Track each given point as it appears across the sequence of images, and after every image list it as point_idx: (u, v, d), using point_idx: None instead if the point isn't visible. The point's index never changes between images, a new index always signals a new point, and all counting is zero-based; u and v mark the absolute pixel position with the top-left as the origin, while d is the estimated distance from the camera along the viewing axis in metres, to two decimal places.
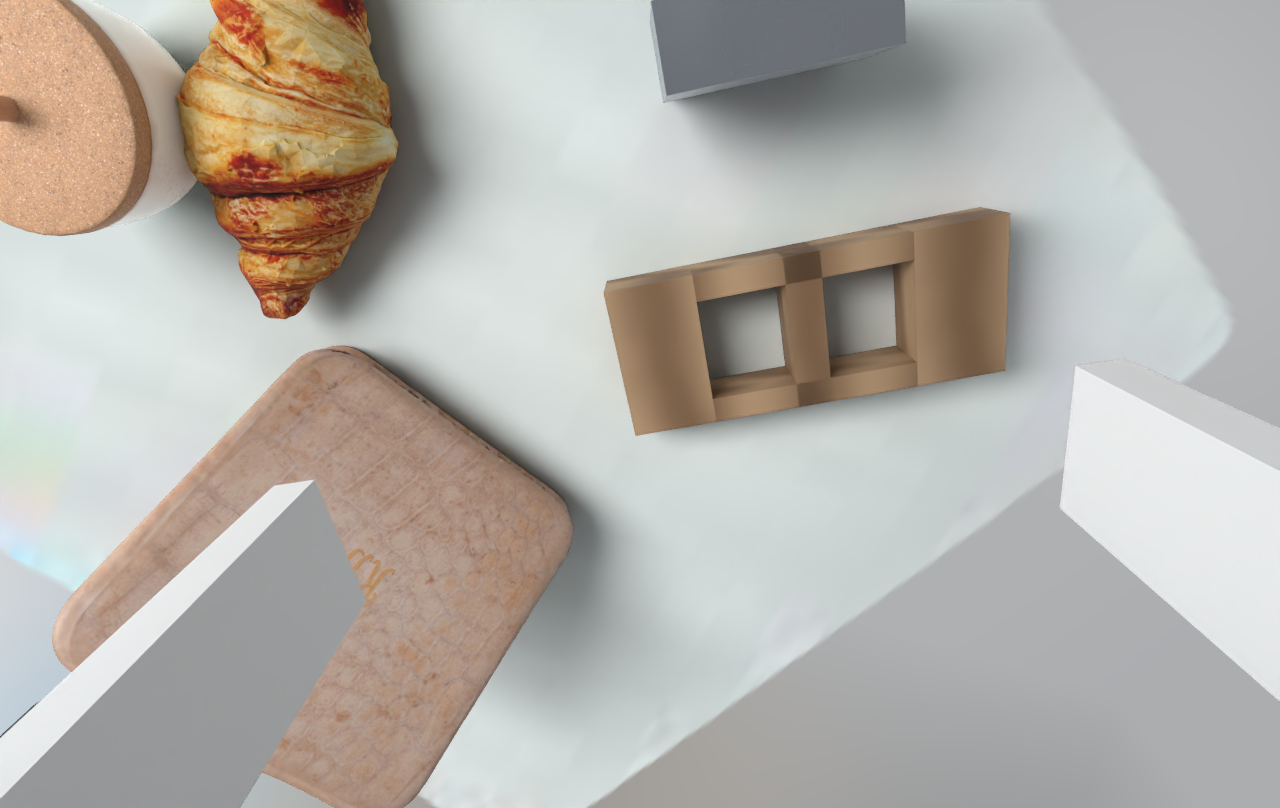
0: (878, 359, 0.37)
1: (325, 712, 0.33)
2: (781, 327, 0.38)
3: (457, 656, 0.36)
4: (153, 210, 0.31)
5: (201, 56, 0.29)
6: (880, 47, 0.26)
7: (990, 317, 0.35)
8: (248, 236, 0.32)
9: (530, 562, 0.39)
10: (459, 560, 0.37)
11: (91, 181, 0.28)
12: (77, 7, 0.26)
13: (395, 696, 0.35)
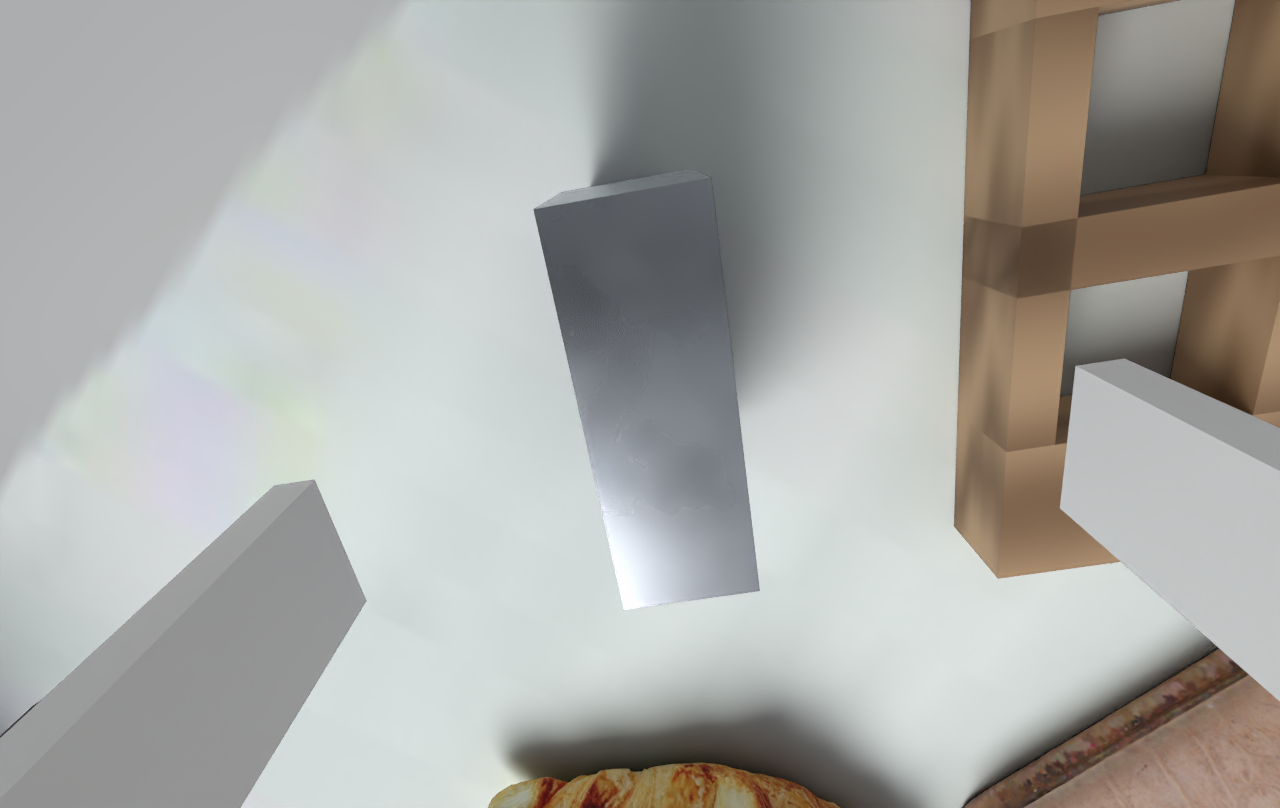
0: None
1: None
2: None
3: None
4: None
5: None
6: (715, 230, 0.12)
7: None
8: None
9: None
10: None
11: None
12: None
13: None
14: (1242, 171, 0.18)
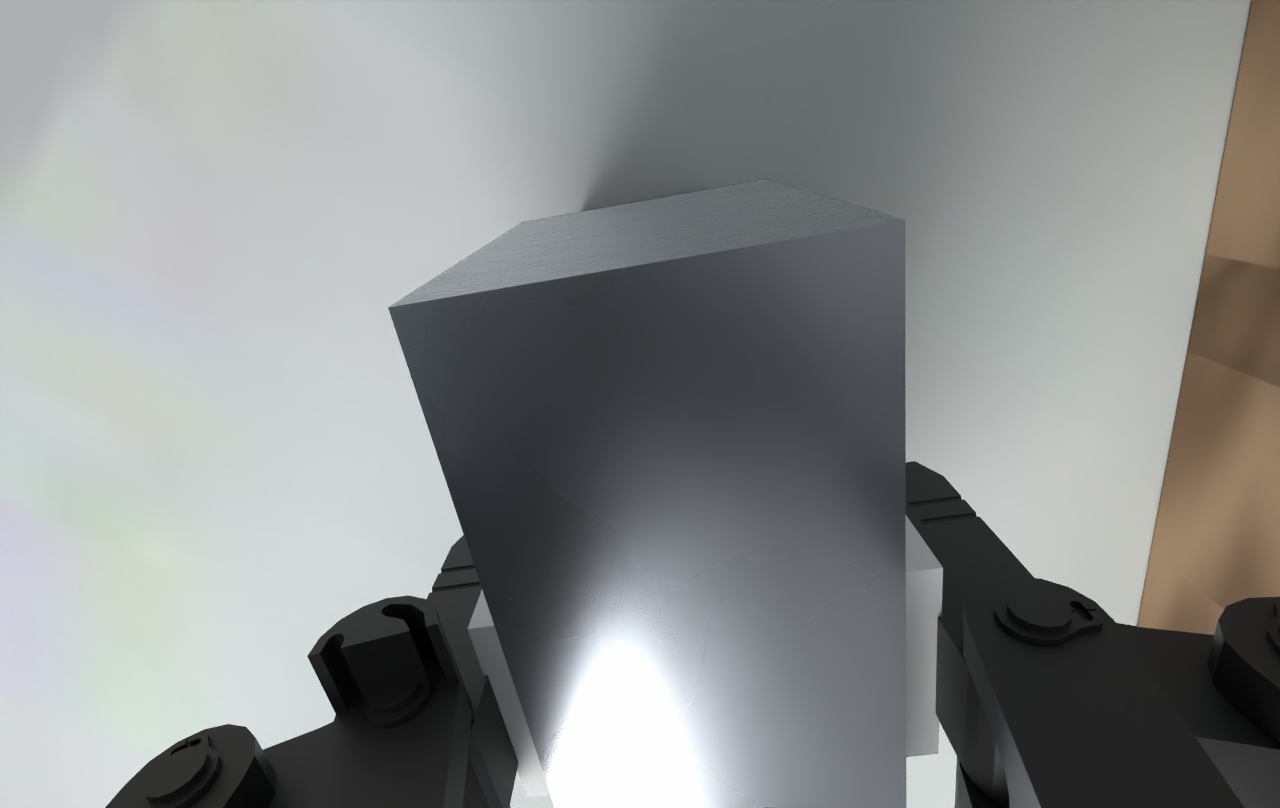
0: None
1: None
2: None
3: None
4: None
5: None
6: (897, 363, 0.04)
7: None
8: None
9: None
10: None
11: None
12: None
13: None
14: None
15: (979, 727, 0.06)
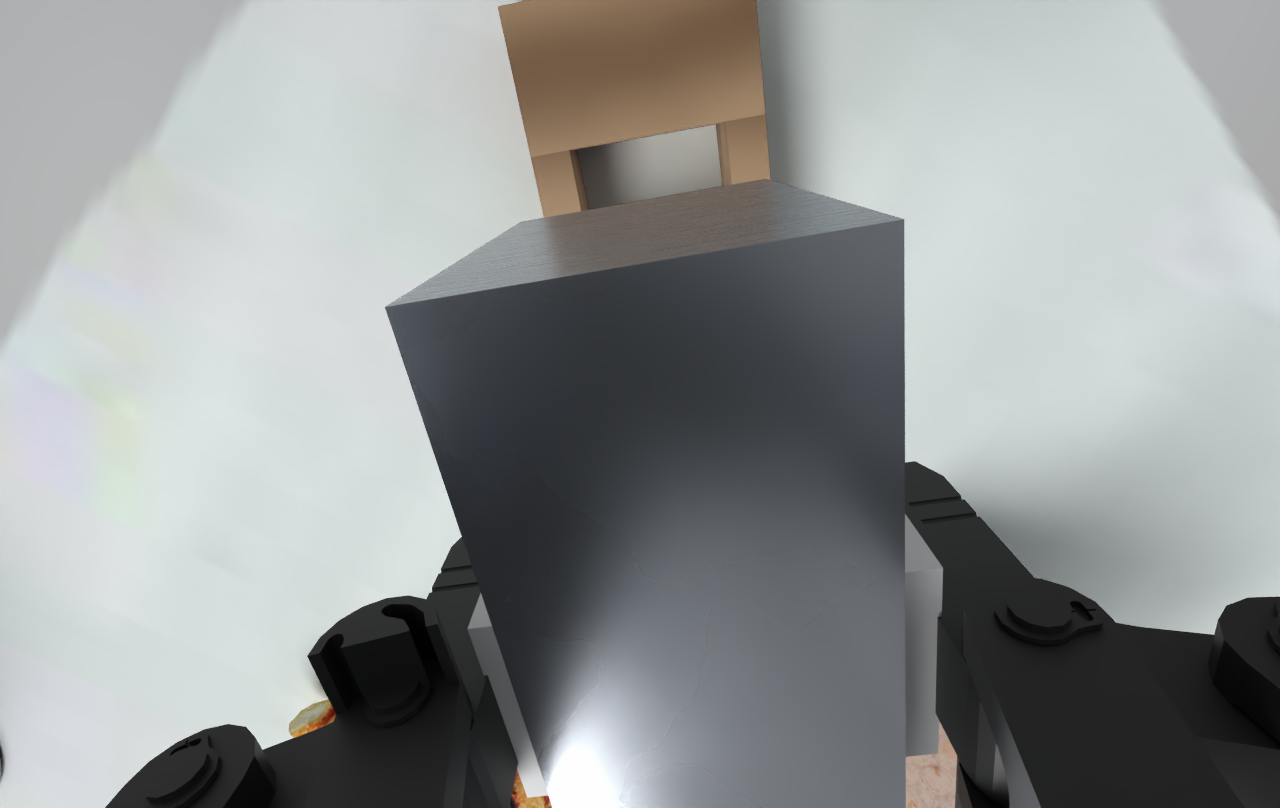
0: (725, 168, 0.25)
1: None
2: None
3: None
4: None
5: None
6: (896, 362, 0.04)
7: (659, 5, 0.22)
8: None
9: None
10: None
11: None
12: None
13: None
14: None
15: (979, 727, 0.06)
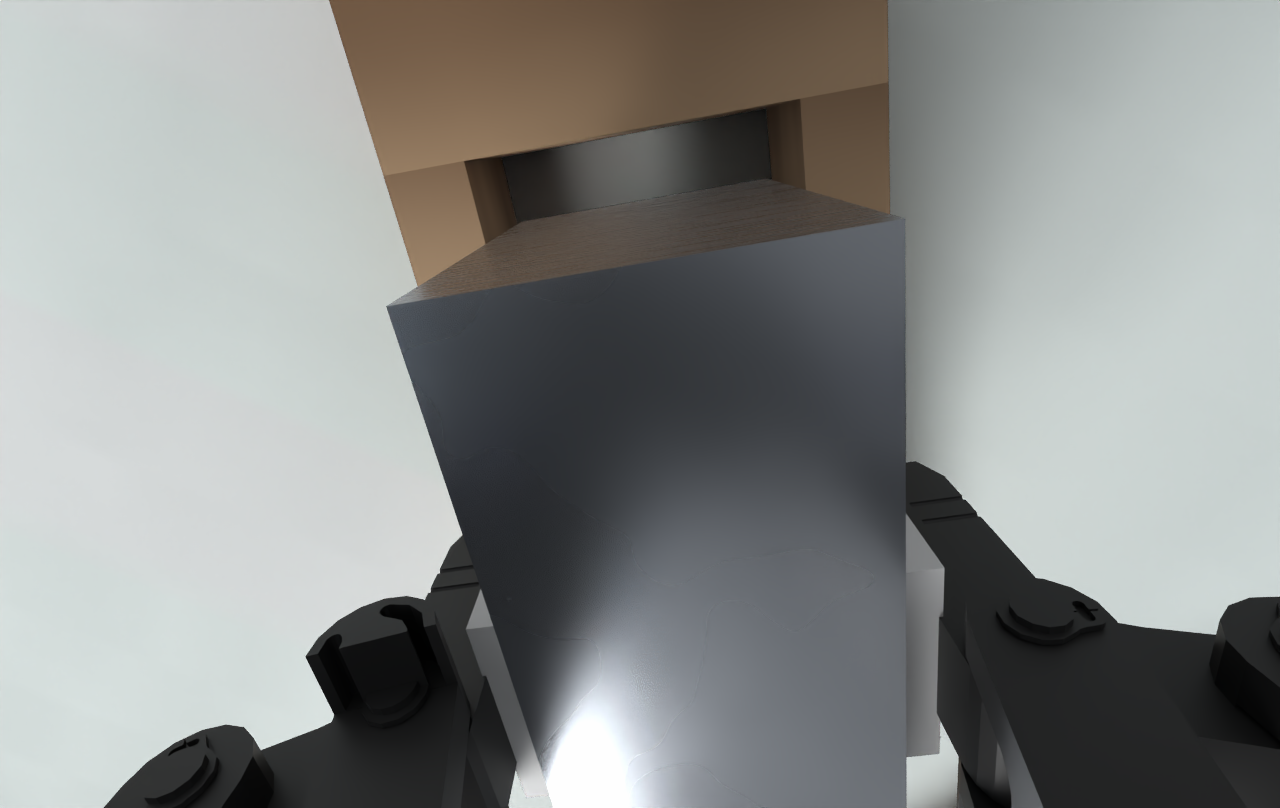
0: None
1: None
2: None
3: None
4: None
5: None
6: (897, 362, 0.04)
7: None
8: None
9: None
10: None
11: None
12: None
13: None
14: None
15: (981, 727, 0.06)
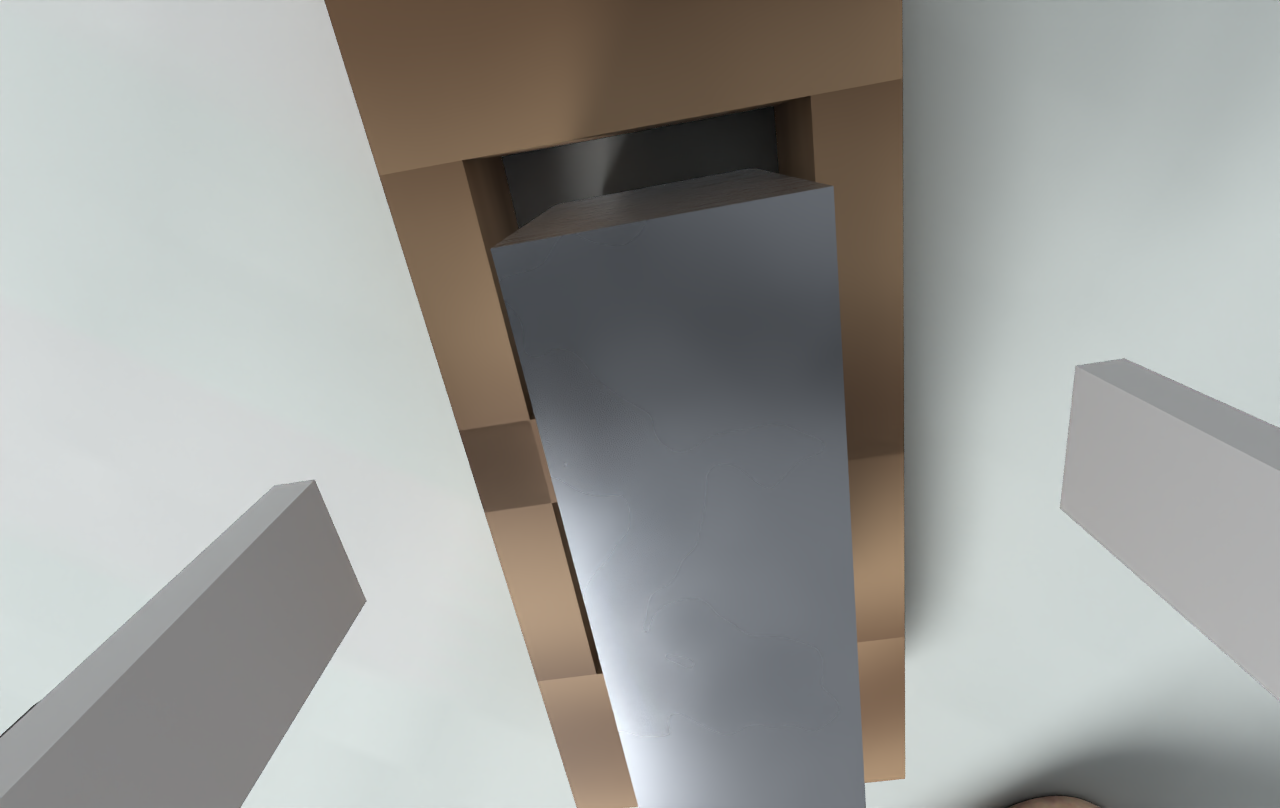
0: None
1: None
2: None
3: None
4: None
5: None
6: (834, 285, 0.07)
7: None
8: None
9: None
10: None
11: None
12: None
13: None
14: None
15: None
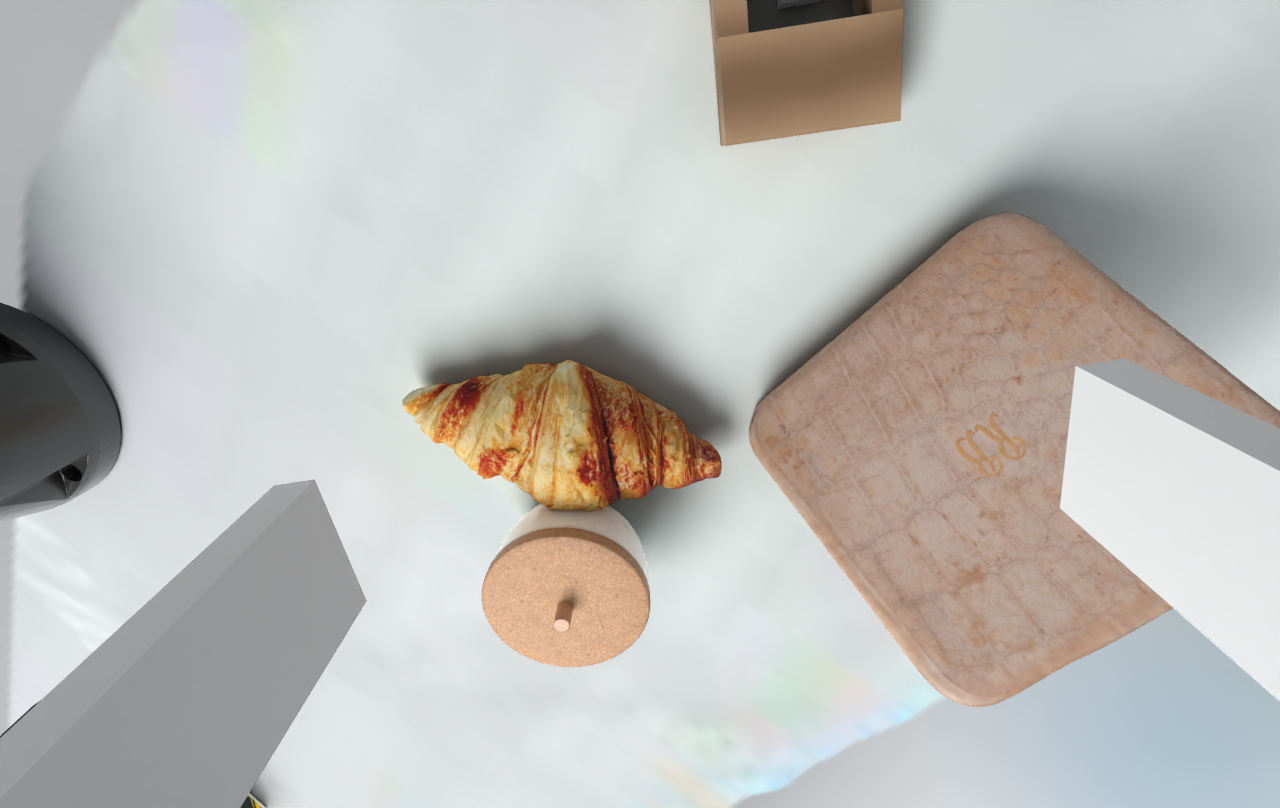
0: None
1: None
2: None
3: None
4: (632, 539, 0.40)
5: (523, 489, 0.40)
6: None
7: None
8: (647, 479, 0.39)
9: (1035, 267, 0.33)
10: (1005, 346, 0.33)
11: (606, 570, 0.38)
12: (497, 554, 0.38)
13: None
14: None
15: None
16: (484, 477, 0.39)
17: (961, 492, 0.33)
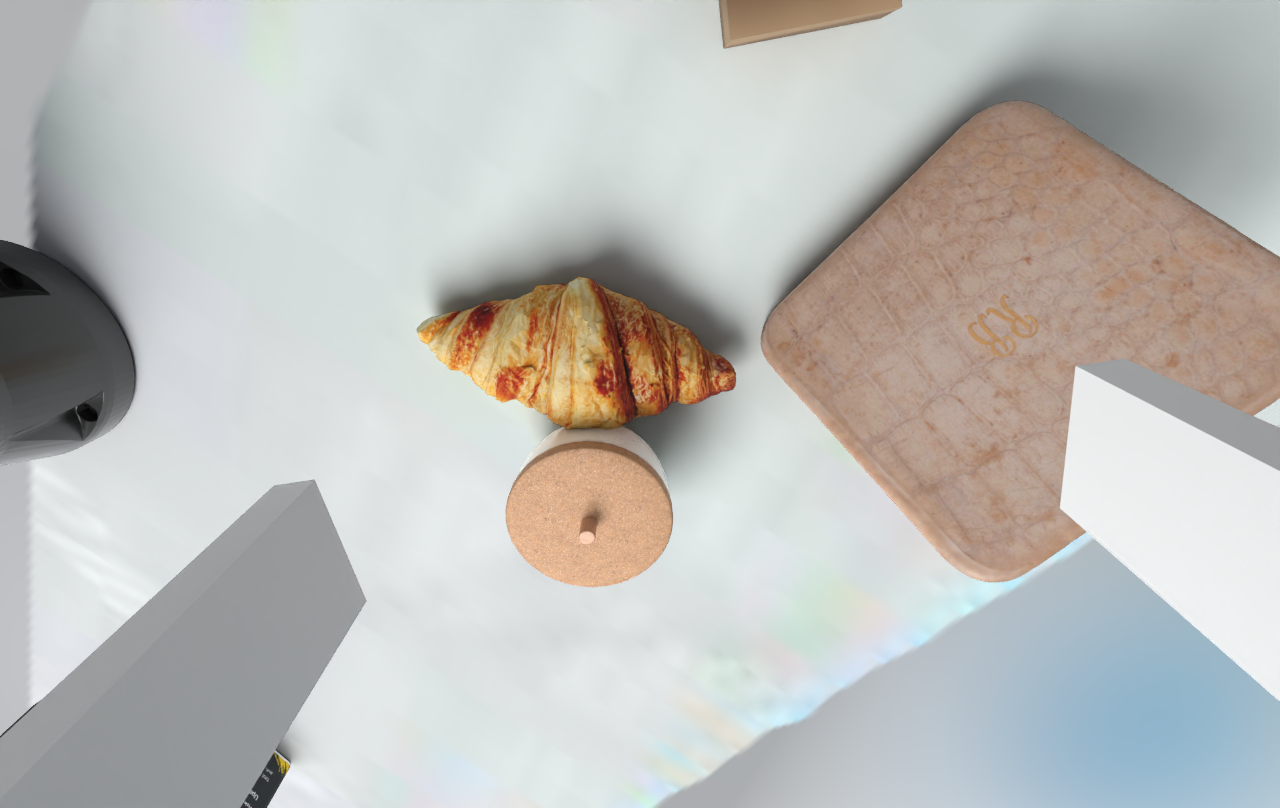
0: None
1: None
2: None
3: (1139, 234, 0.30)
4: (651, 455, 0.41)
5: (541, 411, 0.41)
6: None
7: None
8: (663, 392, 0.39)
9: (1040, 149, 0.33)
10: (1012, 228, 0.33)
11: (628, 481, 0.38)
12: (519, 473, 0.39)
13: (1168, 304, 0.29)
14: None
15: None
16: (502, 400, 0.40)
17: (975, 375, 0.33)
